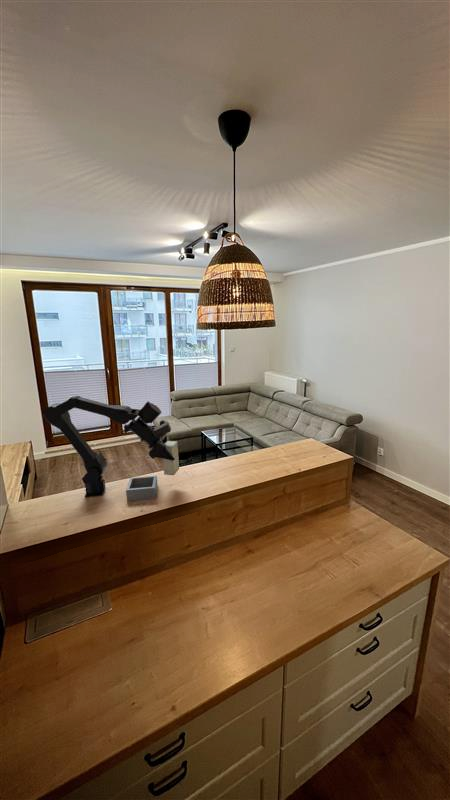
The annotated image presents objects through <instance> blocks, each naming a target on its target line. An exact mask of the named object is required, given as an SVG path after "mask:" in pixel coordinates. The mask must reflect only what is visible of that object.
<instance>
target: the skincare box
mask: <svg viewBox="0 0 450 800" xmlns="http://www.w3.org/2000/svg"><path fill="white" fill-rule="evenodd" d="M165 444H166V449H167V450H168V451H169V453H170V454H171V455H172V456H173V457H174V458H175V459H174V460H173V461H171V460H167V459H163V458H162V463H163V474H164V475H165V476H175V475H176V474H177V472H178V471H179V470H180V464H179V463H180V462H179V461H180V459H179V448H178V447H179V445H178V441H177V440H167V442H166V443H165Z"/></svg>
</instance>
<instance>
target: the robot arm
mask: <svg viewBox="0 0 450 800" xmlns="http://www.w3.org/2000/svg"><path fill="white" fill-rule="evenodd" d="M73 409H78V410H81V411H86V412H89V413H94V414H98V415H101V416H104V417H106V418H108V419H109V420H111V421H113V422H115V423H118V424H120V425H124V426H123V427H124V434H128V432H129V431H130V432H132V434H134V435H136V436H137V437H138V438H140V440H139V441H140V442H142V443H143V442H145V444H147V445H148V448H149V450H148V456H149V457H150V458H151V459H155V458H158V459H162V460H163V459H167V460H171V461H173V460H174V459H175V458H174V457H173V456H172V455H171V454H170V453H169V451H168V450H167V449H166V444H165V443H166V442H167V441H168V434H169V433H171V431H172V427H171V426H170V423H169V422H168V421H165V420H163V419H162V420H160V421H159V425H157V426H156V427H154V426H153V425H152V426H150V425H149V424H153V422H154V421H155V420H156V419H157V418H158V417H159V416H160V415H161V414H162V410H161V409H160V408H159V407H158V406H157V405H156V404H154V403H152V402H150V401H146V403H145V404H144V405H143V406H142V407H141V409H137V408H132V407H130V406H129V405H122V404H121V405H118V404H117V405H112V404H107V403H103V402H101V401H100V402H99V401H97V400H92V399H89V398H85V397H82V396H80V395H74V396H72V397H70V398H69V399H67V400H65V401H63V402H62V403H60V402H57V403H54V404H52V405H50V406H47V407H46V408H45V409H44V410H43V411H44V412H43V418H44V419H45V420H46V421H47V422H48V423H49V424H50V425H51V426H53V427H55V428H57V429H59V430H60V432H61V433H62V434H63V436H64V437H65V438H66V439H67V441H68V442H69V443H70V445H71V446H72V447H73V448H74V450H75V452H77V454H78V455H79V457H80V458H81V459H82V461H83V467H84V469H85V471H86V473H85V474H84V475H83V476H82V477H81V480H82V482H83V484H84V487H85V488H86V489H85V495H84V497H85V498H88V497H90V498H91V497H99V496H100V497H101V496H103V494H104V493H105V491H106V482H105V481H106V480H105V479H104V476H103V474H104V472H105V471H106V469H107V467H108V461H107V458H106V456H104V454H103V453H102V452H101V451H100V452H99V453H97V452H96V451H94V450H93V449H92V447H91V446H90V444H89V443H88V442H87V441H86V440H85V438H84V436H83V435H82V434H81V433H80V431H79V430H78V428H77V427H75V425H74V423H73V422H72V419H71V414H70V412H69V411H71V410H73Z"/></svg>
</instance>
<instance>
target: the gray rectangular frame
mask: <svg viewBox="0 0 450 800" xmlns="http://www.w3.org/2000/svg"><path fill="white" fill-rule="evenodd" d="M157 490H158V476H157V475H148V476H137V477H136V476H135V477H130V478H129V480H128V483H127V486H126V489H125V493H126V494H125V495H126V502H133V501H134V502H135V501H143V500H144V501H146V500H154V499H156V498H157V497H156V496H157V492H158V491H157Z"/></svg>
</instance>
